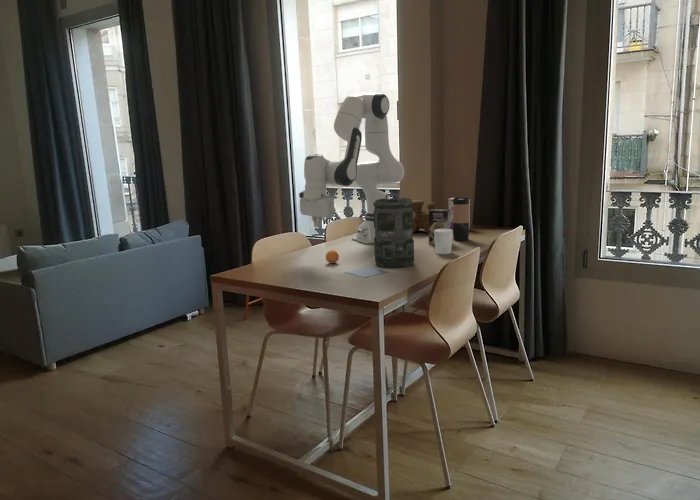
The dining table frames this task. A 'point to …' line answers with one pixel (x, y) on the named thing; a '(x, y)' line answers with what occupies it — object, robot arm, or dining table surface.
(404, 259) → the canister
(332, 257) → the ball
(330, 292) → the dining table surface
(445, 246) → the white cup
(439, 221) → the coffee box
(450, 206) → the candy bar box
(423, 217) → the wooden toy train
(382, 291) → the dining table surface
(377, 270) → the mark
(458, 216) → the travel mug
